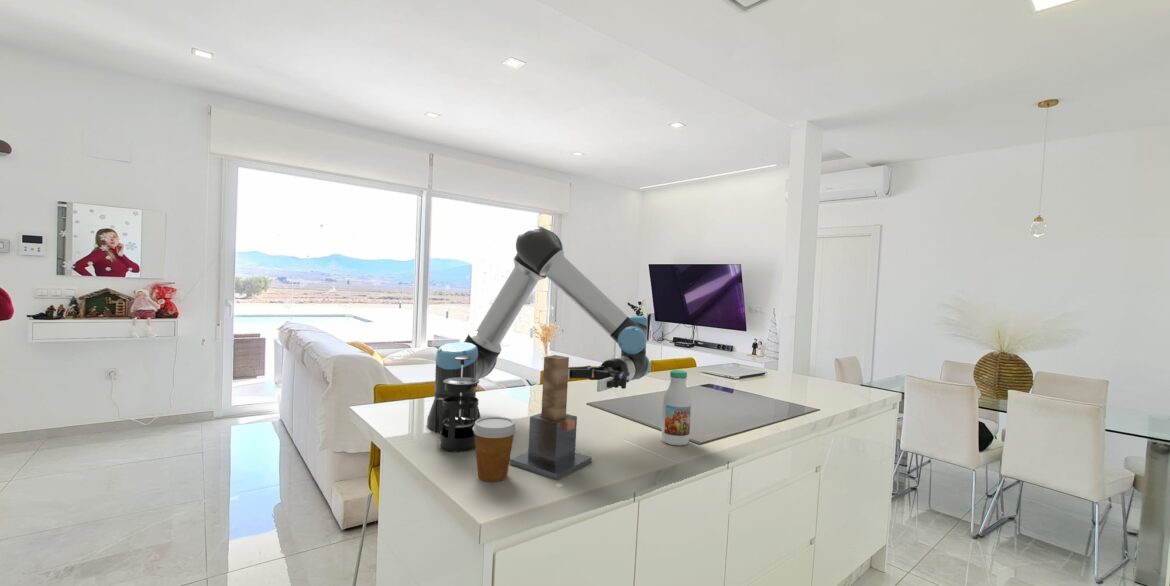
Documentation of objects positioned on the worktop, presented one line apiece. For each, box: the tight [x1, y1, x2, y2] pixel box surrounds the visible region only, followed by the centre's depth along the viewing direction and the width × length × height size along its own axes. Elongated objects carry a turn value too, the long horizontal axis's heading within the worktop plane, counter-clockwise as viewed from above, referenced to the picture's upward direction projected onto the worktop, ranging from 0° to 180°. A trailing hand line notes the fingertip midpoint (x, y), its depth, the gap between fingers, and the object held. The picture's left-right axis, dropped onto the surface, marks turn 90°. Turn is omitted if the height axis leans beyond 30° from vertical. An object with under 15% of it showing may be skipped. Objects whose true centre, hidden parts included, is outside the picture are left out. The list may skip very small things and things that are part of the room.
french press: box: [434, 356, 480, 453], centre depth 125 cm, size 12×9×23 cm
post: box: [541, 354, 570, 421], centre depth 117 cm, size 4×4×24 cm
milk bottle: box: [660, 369, 692, 446], centre depth 137 cm, size 8×8×20 cm
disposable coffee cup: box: [473, 416, 517, 483], centre depth 107 cm, size 10×10×12 cm
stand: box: [509, 412, 593, 481], centre depth 117 cm, size 14×14×11 cm
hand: (575, 381), depth 123 cm, fingers open, 13 cm apart
